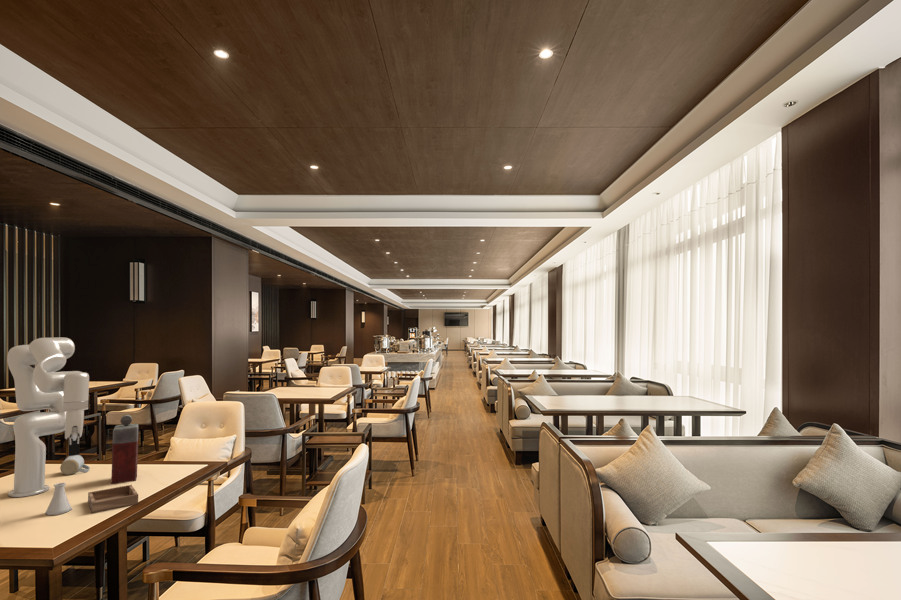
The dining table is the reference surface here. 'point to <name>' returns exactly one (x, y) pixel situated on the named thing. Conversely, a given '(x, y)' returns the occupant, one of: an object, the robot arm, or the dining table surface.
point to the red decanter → (124, 451)
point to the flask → (59, 501)
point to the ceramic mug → (73, 465)
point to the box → (112, 498)
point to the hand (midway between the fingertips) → (74, 452)
